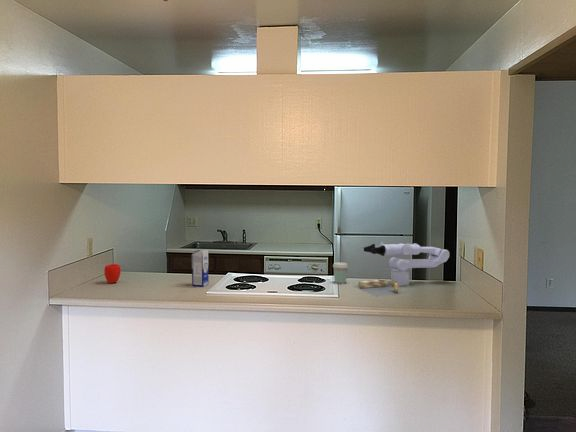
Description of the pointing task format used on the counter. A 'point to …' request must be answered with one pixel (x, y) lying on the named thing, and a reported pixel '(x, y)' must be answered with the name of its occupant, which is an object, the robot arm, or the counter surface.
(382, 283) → the link
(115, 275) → the apple
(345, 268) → the coffee cup
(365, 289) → the board
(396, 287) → the keeper
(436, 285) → the counter surface
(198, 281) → the milk carton
